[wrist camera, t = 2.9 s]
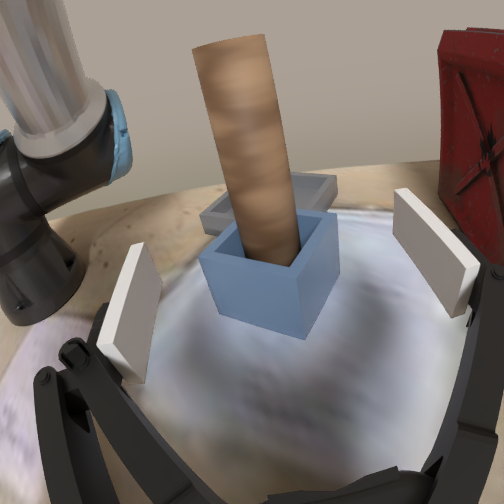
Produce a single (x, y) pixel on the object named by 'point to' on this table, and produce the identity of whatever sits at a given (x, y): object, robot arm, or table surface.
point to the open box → (275, 277)
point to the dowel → (251, 145)
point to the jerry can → (473, 135)
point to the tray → (306, 197)
